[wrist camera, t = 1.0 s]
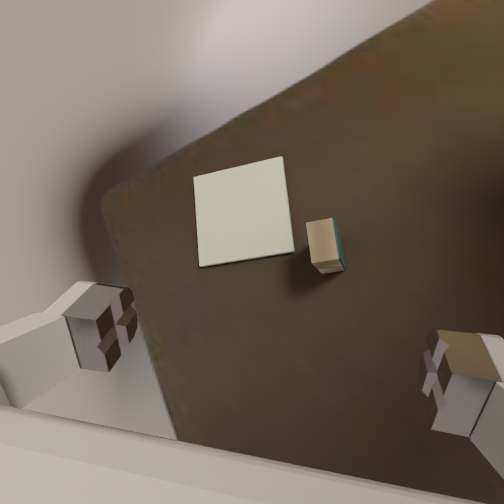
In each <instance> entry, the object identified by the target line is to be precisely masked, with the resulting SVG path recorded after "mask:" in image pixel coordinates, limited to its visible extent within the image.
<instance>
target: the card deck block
mask: <svg viewBox="0 0 504 504" xmlns="http://www.w3.org/2000/svg"><path fill="white" fill-rule="evenodd" d="M306 226H307V233H308V240H309V248H310V255H311V263H312V264H313V265H314V266H315V267H316V268H317V269H318V270H319V271H320V272H321V273H322V274H324V273H331V272H338V271H344V269H346V266H345V260H344V253H343V247H342V241H341V235H340V233H339V230H338V227H337V224H336V222H335V219H332V218H329V219H324V220H318V221H313V222H308V223H306Z"/></svg>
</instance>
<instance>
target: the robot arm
mask: <svg viewBox="0 0 504 504" xmlns="http://www.w3.org/2000/svg"><path fill="white" fill-rule="evenodd" d="M133 301H134V297H133V292H132V290H131V289H130V288H128V287H122V286H116V285H109V284H103V283H95V282H88V281H79V282H77V283H75V284H74V285H73V286H72V287H71V288H70V289H69V290H68V291H66V292H65V293H64V294H63V295H62V296H61V297H60V298H59V299H57V300H56V301H55V302H54V303H53V304H52V305H51V306H50V307H48V309H46V310H45V311H44V312H43V313H38V312H37V313H34V314H32V315H29V316H26V317H24V318H21V319H19V320H16V321H14V322H11V323H8V324H6V325H3V326H0V504H486V503H481V502H476V501H471V500H466V499H461V498H457V497H452V496H447V495H442V494H437V493H432V492H427V491H422V490H417V489H413V488H408V487H403V486H398V485H393V484H388V483H383V482H378V481H373V480H368V479H364V478H359V477H354V476H349V475H344V474H339V473H334V472H329V471H324V470H319V469H315V468H310V467H305V466H300V465H295V464H290V463H285V462H280V461H275V460H270V459H265V458H261V457H256V456H251V455H246V454H241V453H236V452H231V451H226V450H221V449H216V448H212V447H207V446H202V445H197V444H192V443H187V442H182V441H177V440H172V439H167V438H162V437H158V436H153V435H148V434H142V433H138V432H133V431H128V430H123V429H118V428H113V427H108V426H104V425H99V424H94V423H89V422H84V421H79V420H74V419H69V418H64V417H59V416H54V415H49V414H44V413H40V412H35V411H30V410H25V409H21V408H22V407H24V406H25V405H27V404H28V403H30V402H32V401H33V400H35V399H36V398H38V397H39V396H41V395H42V394H44V393H46V392H47V391H49V390H50V389H52V388H53V387H55V386H56V385H58V384H59V383H61V382H62V381H64V380H66V379H67V378H68V377H70V376H72V375H73V374H75V373H76V372H78V371H79V370H80V368H81V369H88V370H95V371H103V372H109V371H110V370H111V369H112V367H113V366H114V364H115V363H116V362H117V360H118V359H119V358H120V356H121V352H120V348H122V347H124V346H126V345H128V344H129V343H130V342H131V340H132V339H133V337H134V335H135V332H136V329H137V320H138V319H137V313H136V311H135V310H134V309H133V308H132V307H131V304H132V302H133ZM427 342H428V345H429V350H427V351H426V352H424V353H423V355H422V359H421V362H420V371H419V377H420V385H421V389H422V391H423V392H424V393H425V394H426V395H427V396H428V399H427V402H426V405H425V406H426V410H427V414H428V418H429V422H430V426H431V430H436V431H441V432H446V433H451V434H456V435H461V436H466V437H470V440H471V441H472V442H473V443H474V445H475V446H476V447H477V448H478V449H479V451H480V452H481V453H482V454H483V455H484V456H485V458H486V459H487V460H488V461H489V462H490V464H491V465H492V466H493V467H494V468H495V470H496V471H497V472H498V473H499V474H500V476H501V477H502V478H503V479H504V339H503V338H502V337H500V336H499V335H491V334H482V333H476V334H475V333H468V332H460V331H452V330H444V329H437V328H432V330H431V331H430V333H429V336H428V339H427Z"/></svg>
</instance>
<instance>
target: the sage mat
mask: <svg viewBox="0 0 504 504" xmlns="http://www.w3.org/2000/svg"><path fill="white" fill-rule="evenodd" d="M194 192H195V207H196V222H197V238H198V253H199V266H200V267H205V266H211V265H217V264H223V263H230V262H236V261H242V260H248V259H254V258H260V257H266V256H273V255H279V254H285V253H291V252H295V249H294V241H293V234H292V226H291V218H290V210H289V202H288V194H287V186H286V178H285V170H284V162H283V157H282V156H281V157H276V158H272V159H268V160H264V161H260V162H255V163H251V164H247V165H243V166H239V167H234V168H230V169H226V170H222V171H218V172H213V173H209V174H205V175H201V176H197V177H194Z"/></svg>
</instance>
